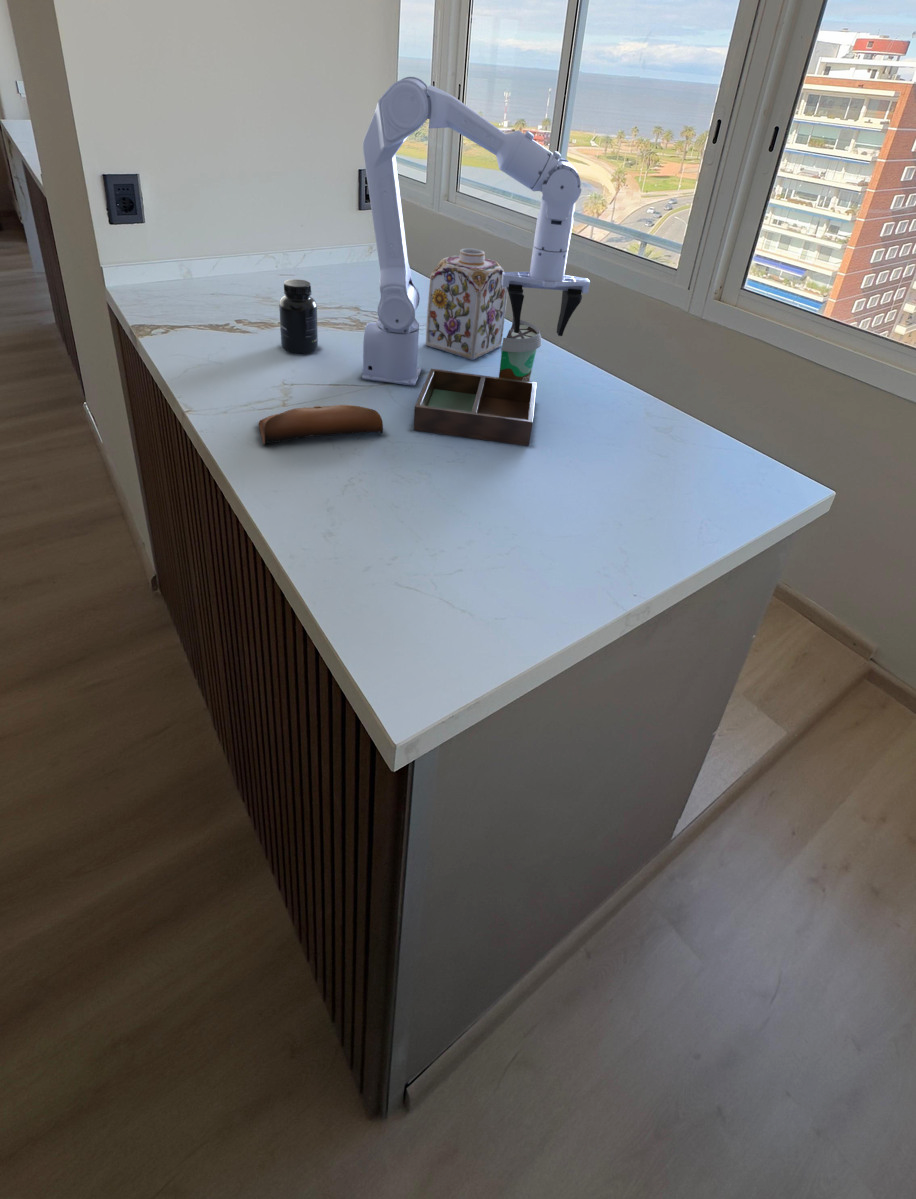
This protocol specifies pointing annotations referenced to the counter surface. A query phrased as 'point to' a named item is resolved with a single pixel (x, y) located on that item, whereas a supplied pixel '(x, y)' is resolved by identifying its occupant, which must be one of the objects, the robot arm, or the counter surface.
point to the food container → (519, 352)
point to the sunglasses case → (319, 422)
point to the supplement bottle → (298, 318)
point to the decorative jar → (466, 305)
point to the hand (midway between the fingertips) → (537, 332)
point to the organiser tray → (476, 407)
